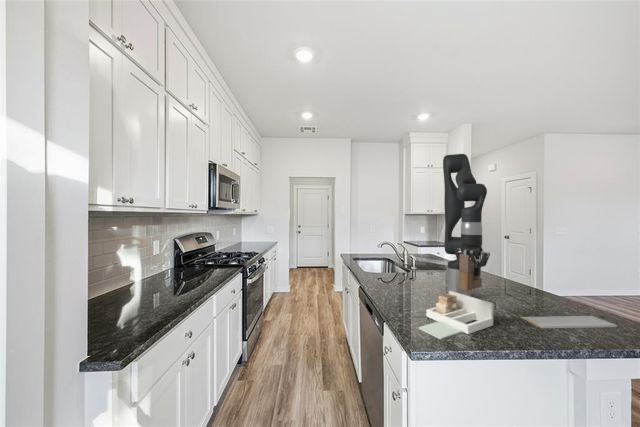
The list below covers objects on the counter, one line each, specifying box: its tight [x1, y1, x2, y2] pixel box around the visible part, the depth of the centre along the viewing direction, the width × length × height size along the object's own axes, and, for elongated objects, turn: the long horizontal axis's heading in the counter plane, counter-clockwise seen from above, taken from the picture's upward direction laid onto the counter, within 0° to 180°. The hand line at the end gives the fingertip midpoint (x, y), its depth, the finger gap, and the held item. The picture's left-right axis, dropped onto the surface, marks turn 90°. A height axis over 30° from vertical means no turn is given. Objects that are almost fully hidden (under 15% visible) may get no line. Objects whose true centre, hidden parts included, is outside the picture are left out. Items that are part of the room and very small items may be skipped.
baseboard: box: [520, 312, 618, 329], centre depth 109 cm, size 31×3×12 cm
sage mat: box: [418, 321, 463, 340], centre depth 101 cm, size 12×10×1 cm
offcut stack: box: [435, 293, 458, 314], centre depth 115 cm, size 9×5×9 cm, turn 118°
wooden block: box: [459, 254, 483, 291], centre depth 105 cm, size 4×11×18 cm, turn 121°
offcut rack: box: [425, 291, 494, 335], centre depth 110 cm, size 16×19×9 cm
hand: (471, 275), depth 105 cm, fingers closed on wooden block, 3 cm apart
